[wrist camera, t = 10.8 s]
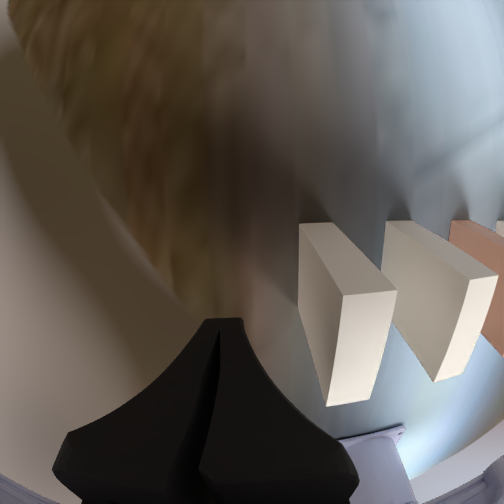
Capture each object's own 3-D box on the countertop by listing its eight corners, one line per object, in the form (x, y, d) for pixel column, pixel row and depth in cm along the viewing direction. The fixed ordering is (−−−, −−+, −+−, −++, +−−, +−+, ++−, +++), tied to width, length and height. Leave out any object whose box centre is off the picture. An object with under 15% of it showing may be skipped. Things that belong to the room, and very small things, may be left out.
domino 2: (412, 220, 15) (498, 274, 8) (400, 296, 17) (462, 373, 10) (385, 220, 15) (469, 279, 8) (376, 299, 17) (433, 382, 10)
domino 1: (332, 222, 15) (397, 289, 8) (327, 304, 17) (369, 399, 10) (298, 223, 15) (343, 295, 8) (297, 307, 17) (325, 406, 10)
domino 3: (469, 220, 15) (551, 264, 8) (456, 288, 17) (520, 349, 10) (451, 219, 15) (536, 267, 8) (438, 291, 17) (502, 356, 10)
